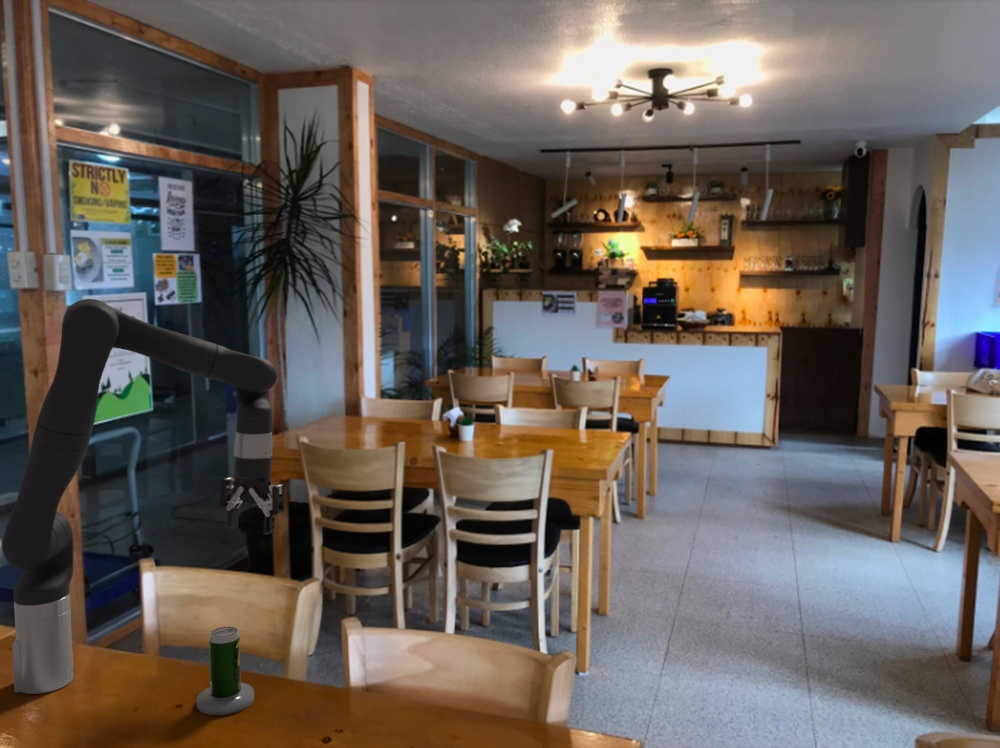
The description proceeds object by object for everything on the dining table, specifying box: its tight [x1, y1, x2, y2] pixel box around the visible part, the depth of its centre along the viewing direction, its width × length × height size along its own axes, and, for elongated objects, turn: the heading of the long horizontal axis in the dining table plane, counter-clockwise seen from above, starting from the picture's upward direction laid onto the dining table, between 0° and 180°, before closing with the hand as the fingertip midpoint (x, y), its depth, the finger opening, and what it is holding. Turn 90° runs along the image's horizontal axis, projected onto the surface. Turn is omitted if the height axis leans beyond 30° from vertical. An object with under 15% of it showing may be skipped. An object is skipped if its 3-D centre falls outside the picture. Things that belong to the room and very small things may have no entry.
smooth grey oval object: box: [196, 682, 255, 716], centre depth 144 cm, size 10×10×1 cm
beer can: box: [208, 626, 242, 701], centre depth 144 cm, size 5×5×12 cm
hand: (250, 530), depth 163 cm, fingers open, 8 cm apart
